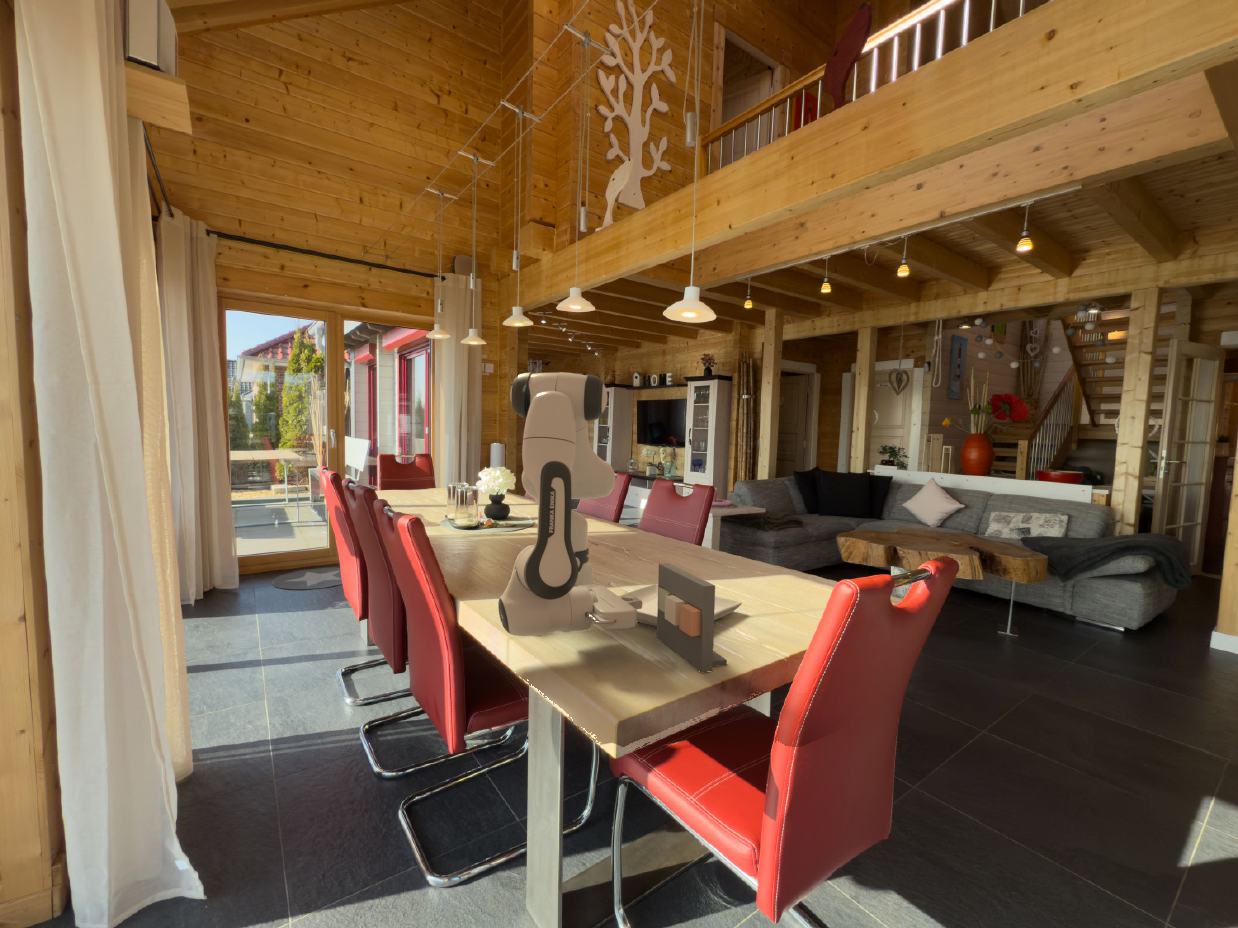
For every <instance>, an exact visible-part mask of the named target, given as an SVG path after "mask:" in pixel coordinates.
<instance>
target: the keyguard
mask: <svg viewBox="0 0 1238 928" xmlns="http://www.w3.org/2000/svg"><path fill="white" fill-rule="evenodd" d="M657 580H658V582H657V584H658V601H659V587H663V588H665V589H666V590H668V591H670V596H671V595H677V596H678V597H680V598H682V599H683V600H685V604H692V605H694V606H695V607H697V608H699V609H700V610H701V635H699V636H689V635H688V634H686V633H685V632H683V631H682V630H681V629H679V625H676V626H675V625H673V624H672V623H671V622H669V621H668V620H666V619H665V613H664V612H663V611H661V610H660V609H658V612H657V627H656V638H657V640H659V641H660V642H661V643H662V644H664V645H665V646H666V647H668V648H669V649H670V650H671V651H673V652H674V653H675V654H677V655H678V656H679V657H680V658H682V660H684V661H685V662H686V663H687V664H689V665H690V666H692V667H693V668H694V667H695V668H696V669H695V668H694V669H695V670H697V671H698V672H699V671H700V672H701V673H700V672H699V673H700V674H703V673H702V672H706V673H708V672H707V671H712V672H713V667H720V666H726V665H725V664H727V665H728V663H727V661H728V660H727V658H725V657H723V656H722V655H721V654H719V653H718V652H716V651H715V650H714V636H715V632H714V631H715V620H714V608H715V596H716V585H715V584H714V583H711V582H709V581H707V580H705V579H702V578H700V577H698V576H696V575H694V574H692V573H690V572H688V571H685V569H682V568H680V567H677V566H676V565H674V564H672V563H669V562H666V563H664V562H663V563H658V579H657Z"/></svg>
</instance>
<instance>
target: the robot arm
mask: <svg viewBox="0 0 1238 928" xmlns="http://www.w3.org/2000/svg"><path fill="white" fill-rule="evenodd" d="M509 397H510V402H511V407H512V410H513V412H515V413H516V415H518V416H519V417H521V418H523V420H525V424H524V430H523V437H522V449H521V451H522V452H521V453H522V467H523V468H522V469H523V470H522V473H521V483H522V487H523V489H524V491H525V492H526V493H527V494H528V495H529V496H530V497H531V498H533V499H534V501H536V502H537V504H538V507H537V508H538V509H537V528H536V529H537V531H536V540H535V543H534V544H529V545H527V546H525V547H524V548H523V549H521V550H520V551H519V552H518V553H517V556H516V558H515V560H514V564H513V568H512V573H511V576H510V579H509V581H508V583H507V586H506V588H505V590H504V592H503V593H502V594H501V596H499V599H498V603H497V604H498V605H497V606H498V614H499V619H500V622H501V624H502V627H503V628H504V630H505V631H506V632H507V633H508V634H509V635H511V636H514V637H516V636H517V637H533V636H544V635H549V634H550V633H554V632H561V633H573V632H580V631H588V630H590V628H591V627H592V625H593V624H594V625H597V626H598V628H601V629H603V630H622V629H623V630H626V629H634V628H635V627H637V625H638V621H637V609H641V608H642V601H641V600H639V599H638V598H637V597H630V598H629V597H623V596H620V595H617V594H616V593H615V592H613V591H612V590H611V589H609V588H607V587H606V586H605V585H601V584H595V583H594V580H595V579H594V568H593V566H592V565H591V564H590V563H589V561H590V559H589V557H590V549H589V547H588V535H589V534H588V533H589V532H588V529H589V528H588V527H589V526H588V521H587V519H586V517H585V516H583V515H582V514H581V513H579V512H577V511H575V510H573V509H572V500H594V499H600V498H606V497H608V496H610V495H611V493H612V492H613V490H614V489H615V486H616V480H617V479H616V474H615V473H616V472H615V470H614V468H613V467H612V466H611V464H610V463H609V462H607V461H605V460H603V459H602V458H601V457H600V456H598V455H597V453H596V452H595V451H594V450H593V448H592V446H591V443H590V439H589V426H588V425H589V422H591V421H594V420H595V421H596V420H598V419H600V417H602V416H603V414H604V411H605V410H606V407H607V403H608V391H607V388H606V385H605V382H604V380H602V378H601V377H599V376H597V375H592V374H589V373H588V374H585V375H584V374H581V373H579V374H578V373H575V372H574V373H573V372H563V371H562V372H561V371H560V372H537V373H535V372H534V373H533V372H532V371H531V372H524V373H519V374H518V375H517V376H516V377H515V378H514V379H513V382H512V385H511V388H510V394H509Z"/></svg>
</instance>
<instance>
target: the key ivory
mask: <svg viewBox="0 0 1238 928" xmlns="http://www.w3.org/2000/svg"><path fill="white" fill-rule="evenodd" d="M684 604H685V600H683V599H682V598H680V597H678V596H677V595H671V596H665V619H666V620H668V621H669V622H671V623H672V624H673V625H675V626H676V625H679V615H680V605H684Z"/></svg>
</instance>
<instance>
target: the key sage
mask: <svg viewBox="0 0 1238 928" xmlns="http://www.w3.org/2000/svg"><path fill="white" fill-rule="evenodd" d="M665 596H670V591H668V590H666V589H665V588H663V587H659V601H658V609H660V610H661V611H663V612H664V613H665Z"/></svg>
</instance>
